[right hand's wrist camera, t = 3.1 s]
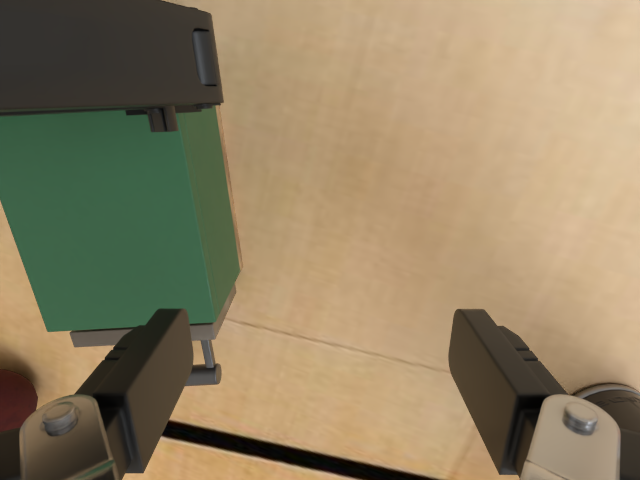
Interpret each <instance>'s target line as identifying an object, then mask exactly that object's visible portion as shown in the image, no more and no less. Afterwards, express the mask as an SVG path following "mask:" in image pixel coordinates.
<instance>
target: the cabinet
mask: <svg viewBox="0 0 640 480" xmlns="http://www.w3.org/2000/svg"><path fill="white" fill-rule="evenodd" d="M201 110H202V112H190V113H176V118H177V124H178V129H179V131H172V132H151V130H150V125H149V120H148V115H128V116H126V112H125V110H121V111H101V112H82V113H63V114H44V115H25V116H6V117H0V201H1V203H2V206H3V209H4V212H5V215H6V217H7V220H8V223H9V226H10V228H11V231H12V234H13V237H14V240H15V242H16V245H17V248H18V251H19V254H20V256H21V259H22V262H23V265H24V267H25V270H26V273H27V276H28V279H29V281H30V284H31V287H32V290H33V293H34V295H35V298H36V301H37V304H38V306H39V309H40V312H41V315H42V318H43V320H44V323H45V326H46V329H47V331H48V332H55V331H73V330H90V329H108V328H125V327H137V326H139V325H146V323H147V322H148V321H149V320H150V318H151V317H152V316H153V314H154V313H155V312H156V311H157V310H158V309H160V308H184V309H186V310H187V313H188V317H189V324H195V323H212V322H216V321H217V319H218V316H219V314H220V313H221V310H222V308H223V306H224V304H225V302H226V300H227V298H228V296H229V294H230V292H231V289H232V287H233V285H234V283H235V281H236V279H237V277H238V275H239V273H240V271H241V269H242V267H243V264H242V257H241V251H240V244H239V237H238V230H237V223H236V217H235V210H234V203H233V196H232V189H231V183H230V176H229V169H228V162H227V156H226V149H225V142H224V135H223V128H222V122H221V115H220V108H219V105H217V106H213V108H211V109H201Z"/></svg>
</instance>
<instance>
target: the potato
mask: <svg viewBox="0 0 640 480" xmlns="http://www.w3.org/2000/svg"><path fill="white" fill-rule="evenodd" d="M37 400H38V396H37V394H36V391H35V388H34V386H33V385H32V384H31V382H30V381H29V380H28V379H27V378H25V377H23V376H22V375H20V374H18V373H15V372H12V371H8V370H4V369H0V432H2V431H7V430H11V429H15V428H20V427H21V426H22V425H23V423H24V422H25V420H26V419H27V418H28V417H29V416H30V415H31V414H32V413H33V412H35V411H36V407H37Z"/></svg>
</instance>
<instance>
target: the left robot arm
mask: <svg viewBox="0 0 640 480" xmlns="http://www.w3.org/2000/svg"><path fill="white" fill-rule="evenodd" d="M220 103H224V100H223V93H222V86H221V79H220V72H219V64H218V57H217V50H216V43H215V36H214V29H213V22H212V15H211V14H210V13H208V12H204V11H201V10H198V9H197V8H192V7H185V6H181V5H177V4H173V3H169V2H165V1H161V0H0V117H6V116H25V115H44V114H63V113H82V112H101V111H121V110H125V112H126V116H128V115H148V120H149V125H150V130H151V132H172V131H179V129H178V124H177V118H176V113H190V112H202V110H201V109H211V108H213V106H217V105H221V104H220Z"/></svg>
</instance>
